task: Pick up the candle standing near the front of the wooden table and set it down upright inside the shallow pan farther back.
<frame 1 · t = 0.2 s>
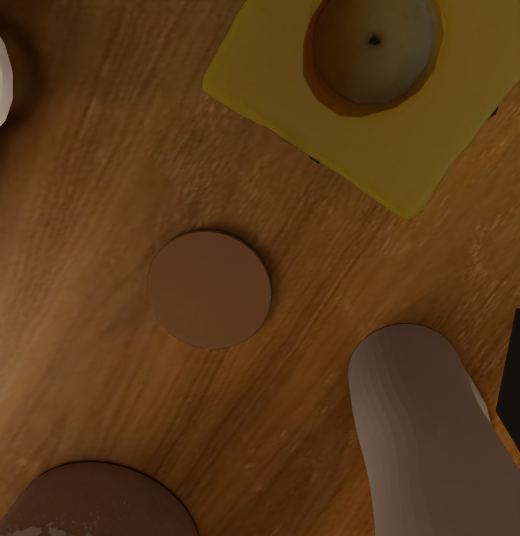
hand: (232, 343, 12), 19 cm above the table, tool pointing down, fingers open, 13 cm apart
vase: (108, 535, 40), on the table
candle: (360, 60, 27), on the table
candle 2: (426, 409, 34), on the table
coaster: (210, 289, 32), on the table
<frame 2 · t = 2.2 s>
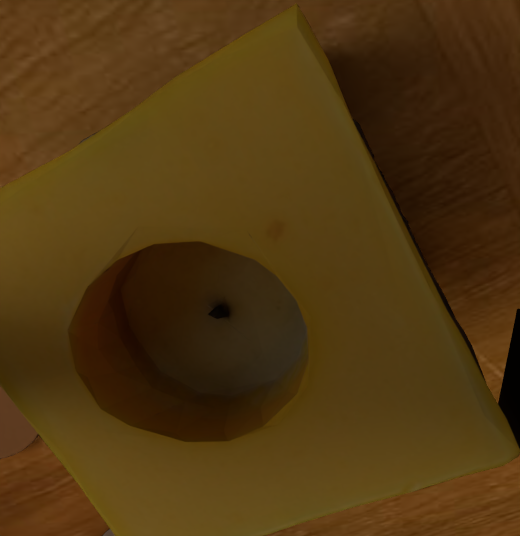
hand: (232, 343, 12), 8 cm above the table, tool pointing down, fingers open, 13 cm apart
candle: (262, 229, 20), on the table
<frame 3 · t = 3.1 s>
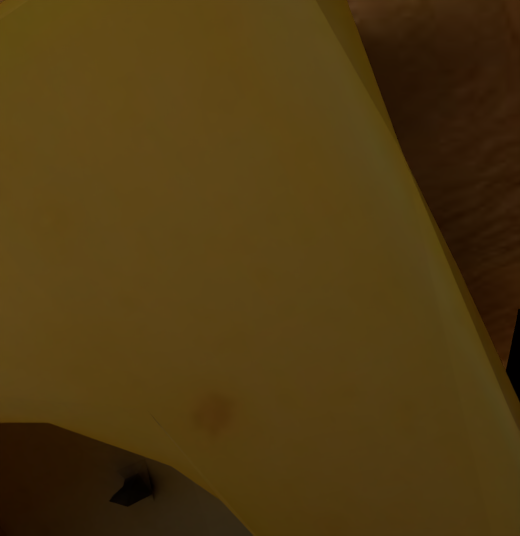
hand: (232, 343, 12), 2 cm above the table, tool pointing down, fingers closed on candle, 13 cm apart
candle: (240, 280, 14), on the table, touching gripper
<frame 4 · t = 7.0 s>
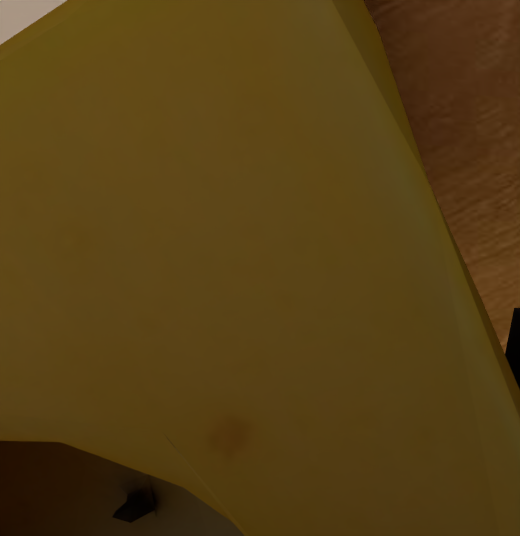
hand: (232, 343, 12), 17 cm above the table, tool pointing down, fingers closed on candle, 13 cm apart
candle: (239, 289, 14), point 14 cm above the table, touching gripper
pan: (116, 112, 27), on the table
when the fingers open (5 cm above the table, at t = 10.9 s): candle stays where it is, resting on pan.
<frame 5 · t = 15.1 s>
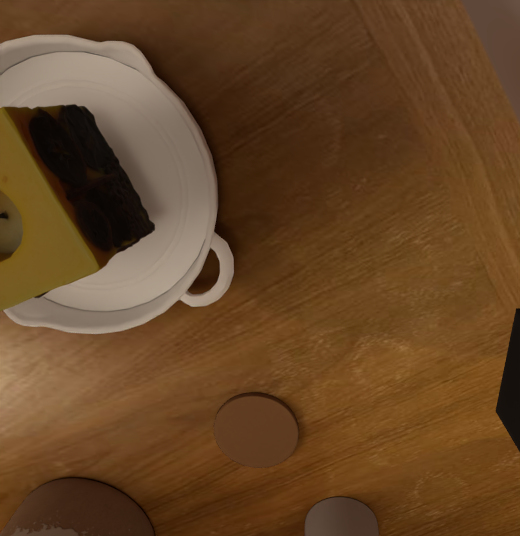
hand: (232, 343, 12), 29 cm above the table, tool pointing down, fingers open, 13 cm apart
vase: (88, 532, 54), on the table
candle: (70, 195, 38), point 4 cm above the table, touching pan
pan: (93, 192, 41), on the table, touching candle
coaster: (256, 429, 47), on the table
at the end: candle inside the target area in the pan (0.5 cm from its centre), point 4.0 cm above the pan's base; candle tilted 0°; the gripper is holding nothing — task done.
